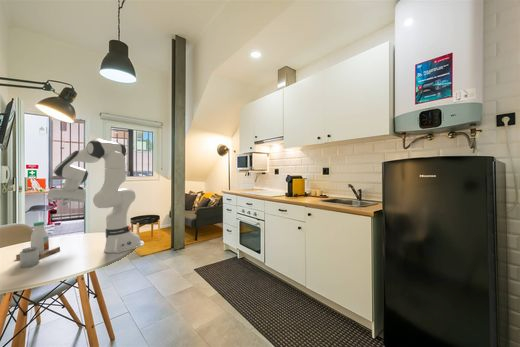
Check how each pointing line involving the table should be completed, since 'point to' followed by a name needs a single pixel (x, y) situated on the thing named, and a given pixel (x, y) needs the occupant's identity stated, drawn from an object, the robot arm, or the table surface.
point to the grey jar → (29, 257)
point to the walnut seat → (44, 253)
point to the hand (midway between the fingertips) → (64, 204)
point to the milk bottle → (40, 238)
